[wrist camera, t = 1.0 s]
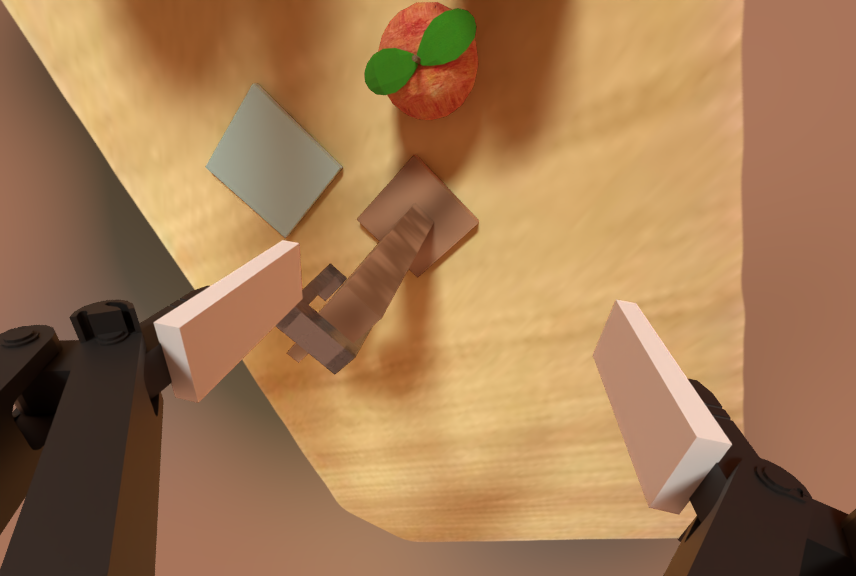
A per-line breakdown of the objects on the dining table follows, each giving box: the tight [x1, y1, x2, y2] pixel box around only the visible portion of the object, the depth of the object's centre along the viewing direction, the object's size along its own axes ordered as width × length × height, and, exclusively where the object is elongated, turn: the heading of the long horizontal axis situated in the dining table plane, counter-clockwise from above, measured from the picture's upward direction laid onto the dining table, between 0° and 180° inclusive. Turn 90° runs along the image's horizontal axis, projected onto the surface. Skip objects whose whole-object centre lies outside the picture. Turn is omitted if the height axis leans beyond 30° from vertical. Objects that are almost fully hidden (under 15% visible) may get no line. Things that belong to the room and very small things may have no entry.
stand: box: [287, 154, 479, 363], centre depth 34 cm, size 10×18×22 cm, turn 136°
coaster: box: [206, 83, 343, 238], centre depth 42 cm, size 12×12×1 cm
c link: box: [276, 264, 373, 374], centre depth 34 cm, size 7×3×8 cm, turn 46°
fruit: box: [365, 2, 478, 120], centre depth 31 cm, size 9×10×10 cm
